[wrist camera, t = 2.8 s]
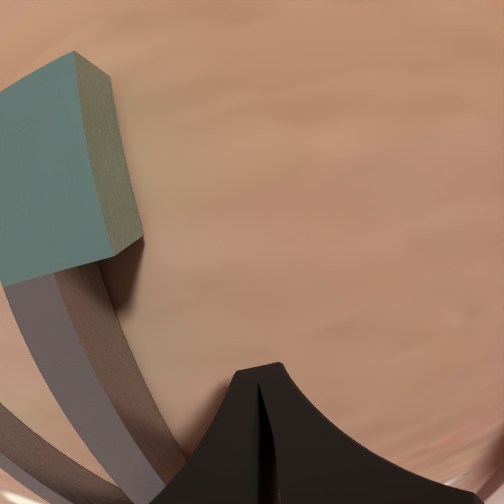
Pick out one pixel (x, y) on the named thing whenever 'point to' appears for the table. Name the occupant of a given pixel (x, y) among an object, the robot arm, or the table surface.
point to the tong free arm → (77, 264)
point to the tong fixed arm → (50, 468)
